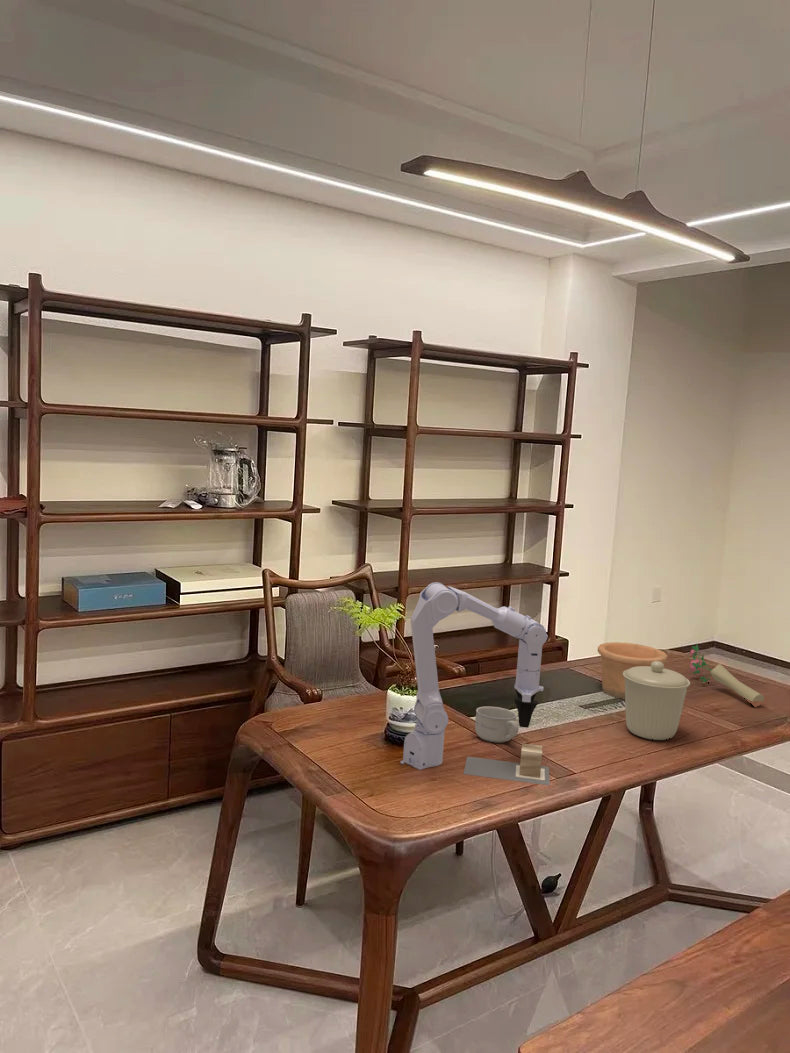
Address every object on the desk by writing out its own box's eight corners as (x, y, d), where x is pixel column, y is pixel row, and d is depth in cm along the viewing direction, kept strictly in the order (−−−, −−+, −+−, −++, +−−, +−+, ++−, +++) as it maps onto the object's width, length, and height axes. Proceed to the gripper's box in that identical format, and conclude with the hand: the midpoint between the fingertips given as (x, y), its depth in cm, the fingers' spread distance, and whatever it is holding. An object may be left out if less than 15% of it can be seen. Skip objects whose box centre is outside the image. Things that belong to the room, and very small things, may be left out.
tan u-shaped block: (540, 777, 189) (542, 753, 189) (519, 775, 190) (521, 750, 189) (539, 769, 194) (542, 745, 193) (519, 767, 195) (521, 743, 194)
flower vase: (741, 728, 260) (671, 674, 291) (772, 716, 263) (700, 664, 294) (742, 699, 255) (671, 646, 286) (773, 686, 258) (700, 636, 289)
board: (463, 777, 189) (463, 773, 189) (466, 760, 200) (467, 755, 200) (549, 789, 186) (549, 784, 186) (548, 770, 197) (549, 766, 197)
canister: (648, 749, 216) (656, 672, 213) (604, 725, 232) (610, 654, 230) (698, 742, 223) (706, 668, 221) (652, 720, 240) (659, 651, 237)
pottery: (615, 704, 252) (619, 660, 251) (582, 683, 274) (586, 641, 272) (676, 703, 257) (680, 659, 256) (639, 682, 279) (644, 642, 277)
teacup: (467, 734, 218) (469, 705, 217) (502, 731, 222) (504, 703, 221) (491, 754, 205) (493, 724, 204) (528, 751, 209) (530, 721, 208)
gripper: (545, 678, 191) (540, 733, 192) (544, 662, 205) (540, 714, 207) (515, 675, 192) (510, 730, 193) (516, 659, 206) (512, 710, 208)
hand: (524, 721), depth 200 cm, fingers open, 7 cm apart
